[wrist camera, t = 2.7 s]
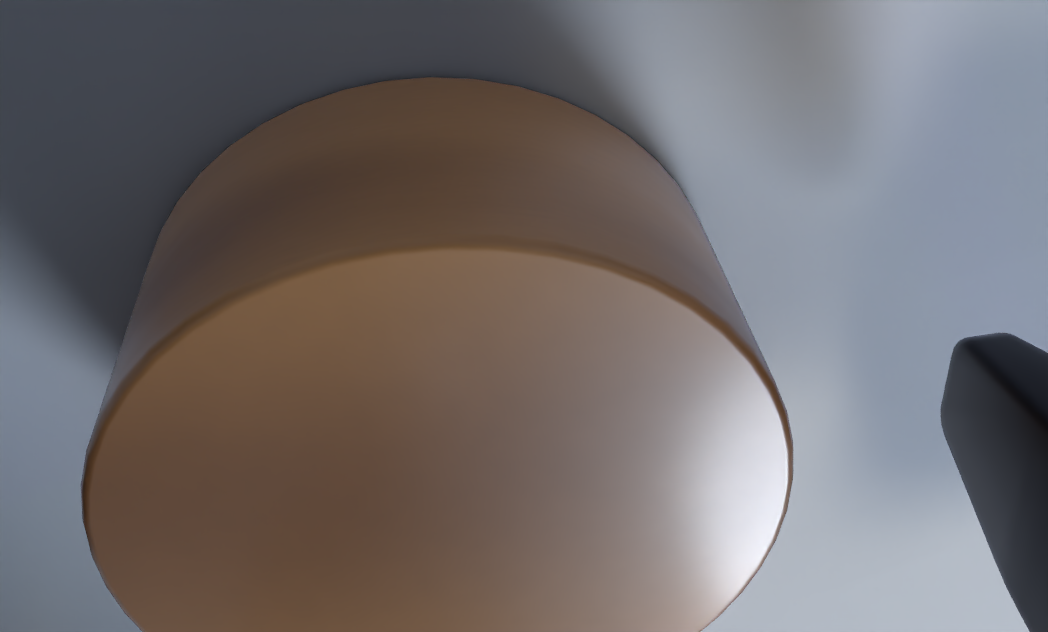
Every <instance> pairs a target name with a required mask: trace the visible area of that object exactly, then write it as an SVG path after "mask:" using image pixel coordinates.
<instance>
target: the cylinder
mask: <svg viewBox="0 0 1048 632" xmlns="http://www.w3.org/2000/svg"><path fill="white" fill-rule="evenodd" d="M792 480H793V440H792V435H791V430H790V425H789V420H788V414H787V410H786V408H785V405H784V403H783V401H782V398H781V396H780V393H779V391H778V388H777V386H776V383H775V381H774V379H773V376H772V374H771V372H770V370H769V368H768V366H767V364H766V362H765V359H764V357H763V355H762V353H761V351H760V349H759V347H758V344H757V342H756V340H755V338H754V336H753V334H752V332H751V329H750V327H749V325H748V323H747V321H746V319H745V317H744V315H743V312H742V310H741V308H740V306H739V304H738V302H737V300H736V297H735V295H734V293H733V291H732V289H731V287H730V285H729V283H728V280H727V278H726V276H725V274H724V272H723V270H722V268H721V265H720V263H719V261H718V259H717V257H716V255H715V253H714V250H713V248H712V246H711V244H710V242H709V240H708V238H707V236H706V233H705V231H704V229H703V227H702V225H701V223H700V221H699V218H698V216H697V214H696V212H695V211H694V209H693V208H692V206H691V204H690V203H689V201H688V200H687V198H686V196H685V195H684V193H683V191H682V190H681V188H680V187H679V185H678V184H677V183H676V182H675V181H674V179H673V178H672V177H671V176H670V175H669V174H668V172H667V171H666V170H665V169H664V168H663V167H662V166H661V164H660V163H659V162H658V161H657V160H656V159H655V158H654V157H653V156H652V155H650V154H649V153H648V152H647V151H646V150H645V149H643V148H642V147H641V146H640V145H639V144H637V143H636V142H635V141H634V140H633V139H632V138H630V137H629V136H628V135H626V134H625V133H623V132H622V131H620V130H618V129H617V128H615V127H614V126H612V125H610V124H609V123H607V122H606V121H604V120H603V119H601V118H599V117H598V116H596V115H594V114H592V113H590V112H587V111H585V110H583V109H581V108H579V107H576V106H574V105H572V104H570V103H568V102H565V101H563V100H561V99H559V98H555V97H552V96H549V95H545V94H542V93H539V92H535V91H532V90H529V89H525V88H522V87H519V86H513V85H507V84H501V83H495V82H489V81H484V80H478V79H463V78H439V77H427V78H415V79H402V80H390V81H383V82H379V83H374V84H369V85H364V86H359V87H354V88H350V89H345V90H341V91H339V92H336V93H333V94H330V95H327V96H324V97H321V98H318V99H315V100H312V101H309V102H306V103H304V104H301V105H299V106H297V107H295V108H293V109H291V110H289V111H287V112H285V113H283V114H281V115H279V116H277V117H275V118H273V119H271V120H269V121H267V122H265V123H263V124H261V125H260V126H258V127H257V128H255V129H254V130H253V131H251V132H250V133H248V134H247V135H245V136H244V137H242V138H241V139H239V140H238V141H236V142H235V143H233V144H232V145H230V146H229V147H228V148H227V149H226V150H225V151H224V152H223V153H221V154H220V155H219V156H218V157H217V158H216V159H215V160H214V161H213V162H212V163H211V164H209V165H208V166H207V167H206V168H205V169H204V170H203V171H202V172H201V173H200V174H199V175H198V177H197V178H196V179H195V180H194V181H193V183H192V184H191V185H190V186H189V188H188V189H187V190H186V191H185V193H184V194H183V195H182V196H181V198H180V199H179V200H178V201H177V203H176V205H175V207H174V208H173V210H172V212H171V214H170V215H169V217H168V219H167V221H166V222H165V224H164V226H163V228H162V229H161V231H160V234H159V236H158V239H157V242H156V245H155V247H154V250H153V253H152V255H151V258H150V261H149V264H148V267H147V270H146V273H145V276H144V279H143V282H142V285H141V288H140V291H139V294H138V297H137V300H136V303H135V306H134V309H133V312H132V315H131V318H130V321H129V324H128V327H127V330H126V333H125V336H124V339H123V342H122V345H121V348H120V351H119V354H118V357H117V360H116V363H115V366H114V369H113V372H112V375H111V378H110V381H109V384H108V387H107V390H106V393H105V396H104V399H103V402H102V405H101V408H100V411H99V414H98V417H97V420H96V423H95V426H94V429H93V432H92V435H91V438H90V441H89V444H88V447H87V450H86V456H85V462H84V469H83V475H82V481H81V498H82V518H83V523H84V527H85V530H86V534H87V538H88V542H89V546H90V550H91V554H92V557H93V559H94V562H95V564H96V566H97V568H98V570H99V572H100V574H101V577H102V579H103V581H104V583H105V585H106V587H107V588H108V590H109V591H110V593H111V594H112V595H113V597H114V598H115V600H116V601H117V603H118V604H119V605H120V607H121V608H122V610H123V611H124V613H125V614H126V615H127V616H128V617H129V618H130V619H131V620H132V621H133V622H134V623H135V624H136V625H137V626H138V627H139V628H140V629H141V630H142V631H143V632H701V631H702V630H703V629H704V628H705V627H707V626H708V625H709V624H710V623H711V622H713V621H714V620H715V619H716V618H717V617H719V616H720V615H721V614H722V613H723V612H724V610H725V609H726V608H727V607H728V606H729V605H730V604H731V603H732V602H733V601H734V600H735V599H736V598H737V597H738V596H739V595H740V594H741V593H742V592H743V590H744V589H745V588H746V586H747V585H748V584H749V582H750V581H751V580H752V578H753V577H754V576H755V574H756V573H757V572H758V570H759V569H760V568H761V566H762V564H763V562H764V561H765V559H766V557H767V555H768V553H769V552H770V550H771V548H772V546H773V544H774V543H775V541H776V539H777V536H778V533H779V531H780V528H781V525H782V522H783V520H784V517H785V514H786V511H787V507H788V502H789V496H790V491H791V485H792Z"/></svg>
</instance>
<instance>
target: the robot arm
mask: <svg viewBox="0 0 1048 632" xmlns="http://www.w3.org/2000/svg"><path fill="white" fill-rule="evenodd" d="M941 423H942V428H943V432H944V435H945V438H946V440H947V443H948V445H949V448H950V450H951V453H952V455H953V458H954V460H955V463H956V465H957V468H958V470H959V473H960V475H961V477H962V480H963V482H964V485H965V487H966V490H967V492H968V495H969V497H970V500H971V502H972V505H973V507H974V510H975V512H976V515H977V517H978V520H979V522H980V525H981V527H982V530H983V532H984V535H985V537H986V540H987V542H988V545H989V547H990V550H991V552H992V555H993V557H994V560H995V562H996V564H997V567H998V569H999V571H1000V573H1001V576H1002V578H1003V580H1004V583H1005V585H1006V587H1007V589H1008V591H1009V593H1010V595H1011V597H1012V599H1013V601H1014V603H1015V605H1016V607H1017V609H1018V611H1019V613H1020V614H1021V616H1022V618H1023V620H1024V622H1025V624H1026V626H1027V627H1028V629H1029V631H1030V632H1048V353H1047V352H1045V351H1043V350H1041V349H1039V348H1037V347H1035V346H1033V345H1032V344H1030V343H1028V342H1026V341H1024V340H1022V339H1020V338H1018V337H1016V336H1014V335H1011V334H1008V333H994V334H988V335H981V336H974V337H968V338H964V339H962V340H960V341H959V342H958V343H957V344H956V346H955V347H954V350H953V353H952V357H951V361H950V366H949V371H948V376H947V380H946V385H945V390H944V394H943V399H942V404H941Z"/></svg>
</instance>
